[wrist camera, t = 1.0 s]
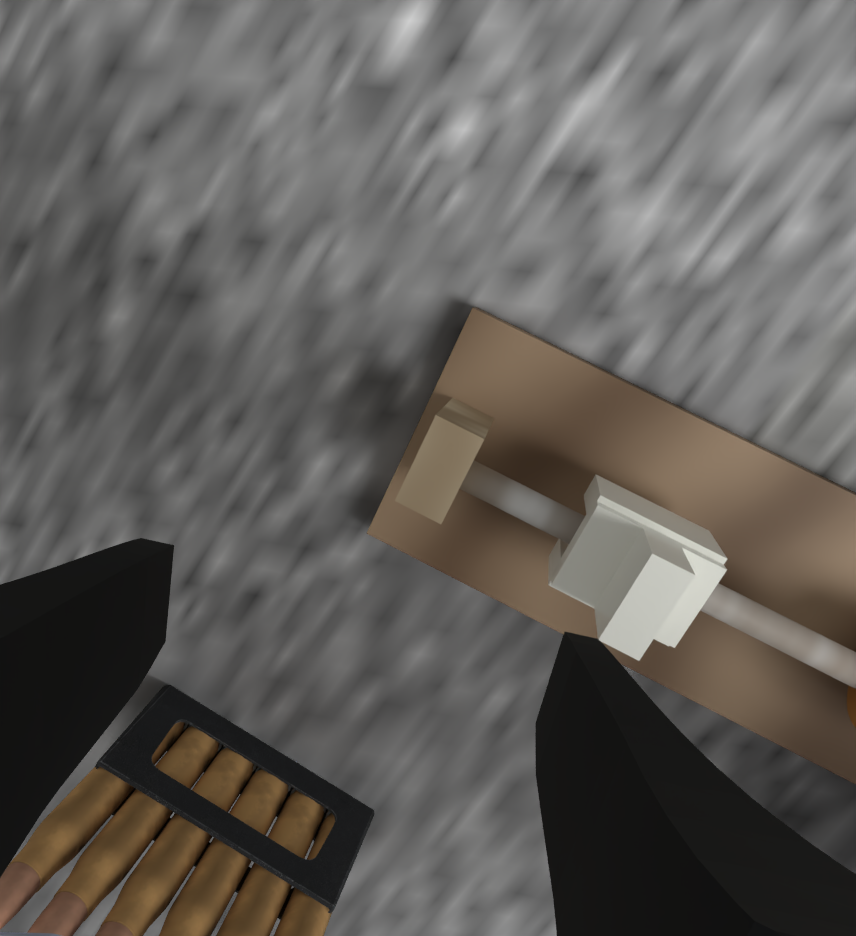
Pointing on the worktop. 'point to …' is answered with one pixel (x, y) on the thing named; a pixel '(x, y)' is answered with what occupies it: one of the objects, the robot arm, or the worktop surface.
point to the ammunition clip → (192, 835)
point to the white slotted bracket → (636, 568)
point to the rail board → (661, 482)
